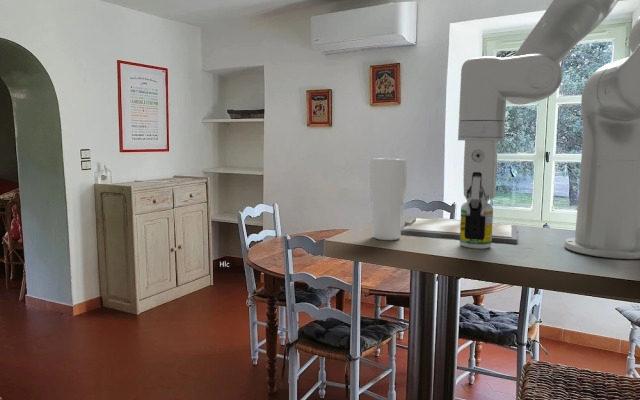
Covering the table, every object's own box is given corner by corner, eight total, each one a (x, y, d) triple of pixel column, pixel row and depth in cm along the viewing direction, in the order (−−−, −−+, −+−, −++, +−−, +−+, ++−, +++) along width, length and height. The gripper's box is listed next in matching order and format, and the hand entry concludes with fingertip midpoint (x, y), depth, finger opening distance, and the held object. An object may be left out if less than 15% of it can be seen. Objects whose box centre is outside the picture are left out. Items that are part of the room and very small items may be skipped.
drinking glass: (393, 243, 86) (396, 159, 84) (361, 238, 90) (363, 158, 88) (410, 237, 91) (413, 159, 89) (380, 233, 95) (382, 157, 94)
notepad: (516, 229, 102) (516, 221, 101) (517, 243, 87) (517, 235, 87) (412, 221, 110) (412, 214, 109) (397, 233, 95) (397, 225, 95)
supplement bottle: (497, 247, 84) (501, 192, 83) (475, 250, 81) (478, 194, 80) (474, 241, 88) (477, 189, 87) (452, 244, 86) (455, 191, 85)
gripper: (503, 131, 73) (496, 247, 75) (504, 133, 89) (499, 229, 91) (453, 131, 76) (447, 243, 78) (462, 133, 92) (458, 226, 94)
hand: (475, 234), depth 85 cm, fingers closed on supplement bottle, 5 cm apart
